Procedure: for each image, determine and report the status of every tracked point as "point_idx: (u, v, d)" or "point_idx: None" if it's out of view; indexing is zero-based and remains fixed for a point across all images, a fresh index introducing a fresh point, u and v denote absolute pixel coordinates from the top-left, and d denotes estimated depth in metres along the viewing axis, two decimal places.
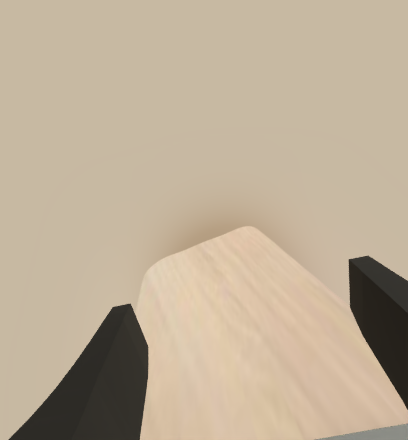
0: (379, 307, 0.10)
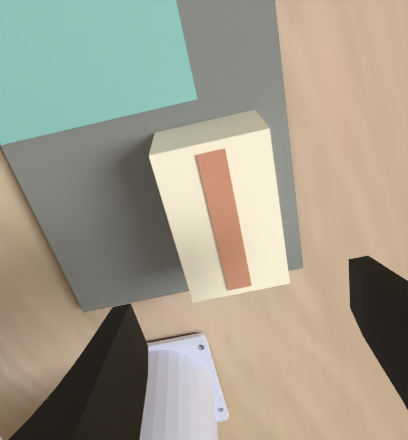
0: (379, 307, 0.10)
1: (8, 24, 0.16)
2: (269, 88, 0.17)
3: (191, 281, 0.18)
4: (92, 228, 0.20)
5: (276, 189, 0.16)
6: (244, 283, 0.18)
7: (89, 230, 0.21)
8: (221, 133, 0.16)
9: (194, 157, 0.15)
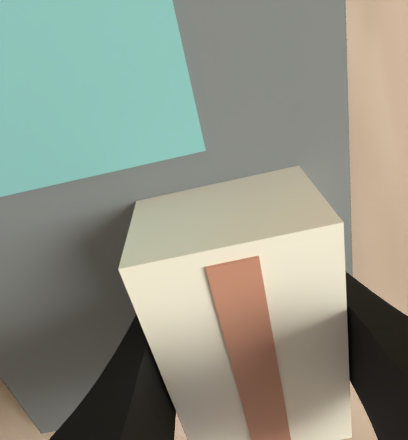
0: None
1: None
2: (324, 132, 0.11)
3: (195, 439, 0.11)
4: (46, 332, 0.14)
5: (345, 316, 0.09)
6: (280, 439, 0.12)
7: (41, 335, 0.14)
8: (250, 222, 0.09)
9: (202, 270, 0.08)
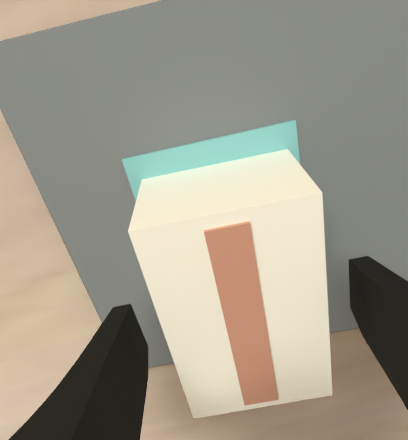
0: (379, 307, 0.10)
1: None
2: None
3: (192, 394, 0.13)
4: None
5: (325, 278, 0.10)
6: (268, 395, 0.13)
7: None
8: (243, 194, 0.10)
9: (200, 233, 0.10)
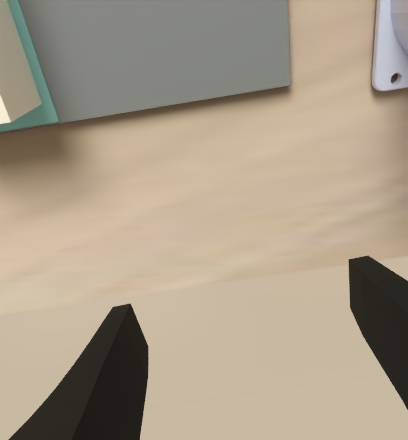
0: (379, 307, 0.10)
1: None
2: None
3: None
4: (161, 42, 0.16)
5: None
6: None
7: (163, 47, 0.16)
8: None
9: None
